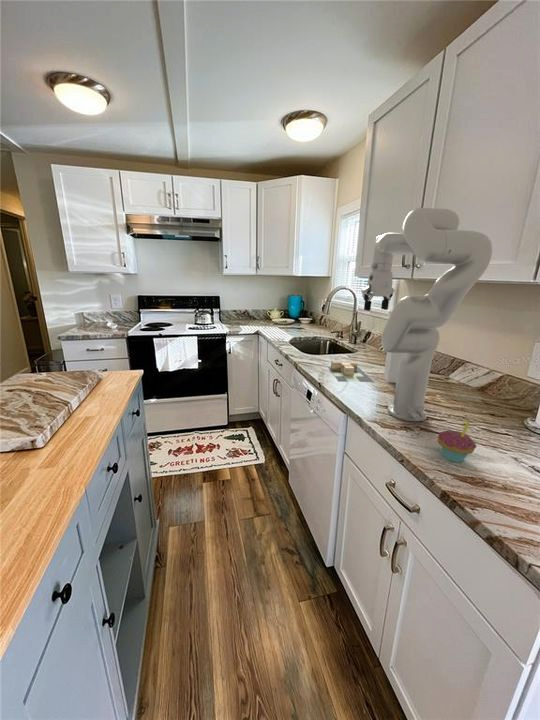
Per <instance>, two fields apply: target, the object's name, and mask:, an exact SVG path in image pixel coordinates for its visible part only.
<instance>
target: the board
mask: <svg viewBox="0 0 540 720" xmlns="http://www.w3.org/2000/svg"><path fill="white" fill-rule="evenodd" d="M327 368H328V370H329V371H330V372H331V374H332V375H333V376H334V377H335V378H336V380H337V382H340V383H341V382H349V383H350V382H351V383H354V382H355V383H374V382H375V381H374V380H373V379H372V378H371V377H370V376H368V374H366V372H364V370H362V368H360V367H359V366H357V371H354V376H345V375H344V374H343V373H342V372H341V371H332V369H331V366H327Z"/></svg>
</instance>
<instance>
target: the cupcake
mask: <svg viewBox="0 0 540 720" xmlns="http://www.w3.org/2000/svg"><path fill="white" fill-rule="evenodd" d="M470 421H471V419H469V420H468V421H466V422H465V425H464V428H463V429H462V431H455V430H451V429H450V430H445V431H444V430H443V431H441V432H439V433H438V436H437V440H436V442H437V443H438V445H440V446H441V450H442V455H443V457H444V458H445V459H446V460H448V461H451V462H453V463H462V462H464V461H465V459H466V458H467V456H468V455H471V454H473V453H474V451H475V449H476V448H477V445H476V443H475V442H474V440H473V439H472V438H471V437H470V436H469V435H467V433H466V432H467V430H468V428H469V426H470V424H471V422H470Z"/></svg>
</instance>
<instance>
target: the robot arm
mask: <svg viewBox="0 0 540 720" xmlns="http://www.w3.org/2000/svg"><path fill="white" fill-rule="evenodd" d="M459 227H460V217H459V215H458V214H457V213H456V212H455V211H453V210H452V209H450V208H449V209H448V208H439V207H438V208H437V207H436V208H435V207H434V208H433V207H418V208H415V209H413V210H412V211H409V213H408V214H407V216H406V217H405V219H404V221H403V225H402V232H386V233H384V234H382V235H378V236H376V238H375V243H374V250H373V258H372V264H371V265H370V268H371V270H370V273H369V275H368V280H367V285H366V287H364V288H362V289H361V292H360V293H361V294H362V298H363V300H364V305H363V306H364V307H363V310H364V311H369V312H370V311H371V309H372V301H371V300H372V299H373V298H374V297H375V298H378V297H382V301H381V306H380V309H381V310H384V311H387V310H388V309H389V305H390V304H389V303H390V301H391V299H392V297H393V296H394V293H395V289H394V288H393V280H394V279H393V278H394V277H393V271H392V269H393V260H394V255H401V256H411V255H415V256H416V258H417V259H418V260H419V262H420V261H421V263H425V264H432V265H453V266H452V267H451V268H450V269H448V270H447V271H445V272H444V273H443V274H441V275H440V276H439V277H438V278H437V279H436V280H435V282H434V284H433V285H432V287H431V289H430V290H429V291H428V293H427V294H425V295H406V296H404V297H402V298H400V300H399V299H398V301H397V303H396V304H395V306H394V307H393V308H392V309H393V310H392V311H391V313H390V315H389V318H388V319H387V322H386V324H385V326H384V328H383V330H382V334H381V337H380V338H381V339H380V343H381V347H382V349H383V350H384V351H385V352H386V353H387V352H390V353H406V354H405V355H404V356H403V358H402V359H401V361H400V364H399V369H398V375H397V382H396V383H395V389H394V390H395V391H394V396H393V402H392V403H391V404H389V405H388V406H387V412H388V413H389V414H390V415H391V416H393V417H394V418H397V419H399V420H404V421H408V422H423V421H426V419H428V418H427V417H428V413H427V411H426V410H424V405H425V400H426V395H427V389H428V383H429V378H430V373H431V367H432V363H433V360H434V359H433V358H434V356H435V353H436V351H437V348H438V346H439V342H440V339H441V338H440V337H441V336H440V332H439V330H438V329H437V328H441V327H443V326H445V325H446V324H447V323H448V321H449V320H450V318H452V316H453V315H454V313H455V312H456V310H457V309H458V307H459V306H460V304H461V303H462V301H463V300H464V298H465V297H466V296H467V294H468V292H469V291H470V290H471V288H473V287H474V286H475V284H476V283H477V282H478V281H479V280H480V278H481V277H482V276H483V275H484V273H485V271H486V270H487V268H488V267H489V265H490V263H491V259H492V257H493V256H492V255H493V244H492V241H491V239H490V237H488V236H487V235H486V234H484V233H482V232H479V231H474V230H460V229H459ZM458 229H459V230H458Z"/></svg>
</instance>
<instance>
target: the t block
mask: <svg viewBox="0 0 540 720" xmlns="http://www.w3.org/2000/svg"><path fill="white" fill-rule="evenodd" d="M330 367H331V369H332V371H341V372H342V373H343V374H344V375H345V376H354V371H357V367H358V362H357V361H356V360H331V363H330Z"/></svg>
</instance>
